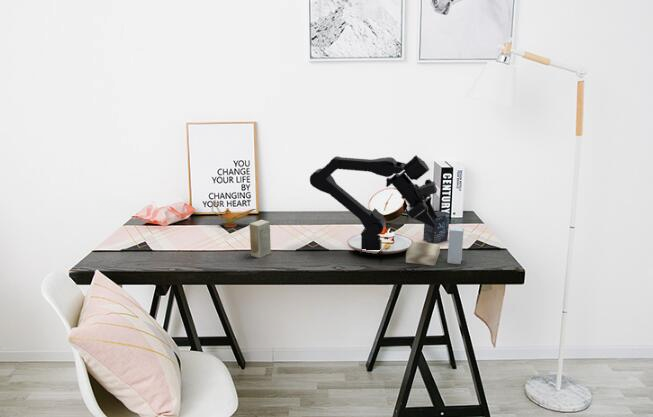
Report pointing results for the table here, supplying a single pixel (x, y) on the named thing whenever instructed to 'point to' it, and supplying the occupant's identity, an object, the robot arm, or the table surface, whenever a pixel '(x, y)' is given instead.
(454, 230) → the tall block
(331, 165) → the robot arm
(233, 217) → the magic lamp
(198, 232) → the table surface
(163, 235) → the table surface
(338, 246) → the table surface
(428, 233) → the box
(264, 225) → the skincare box
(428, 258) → the wooden block
